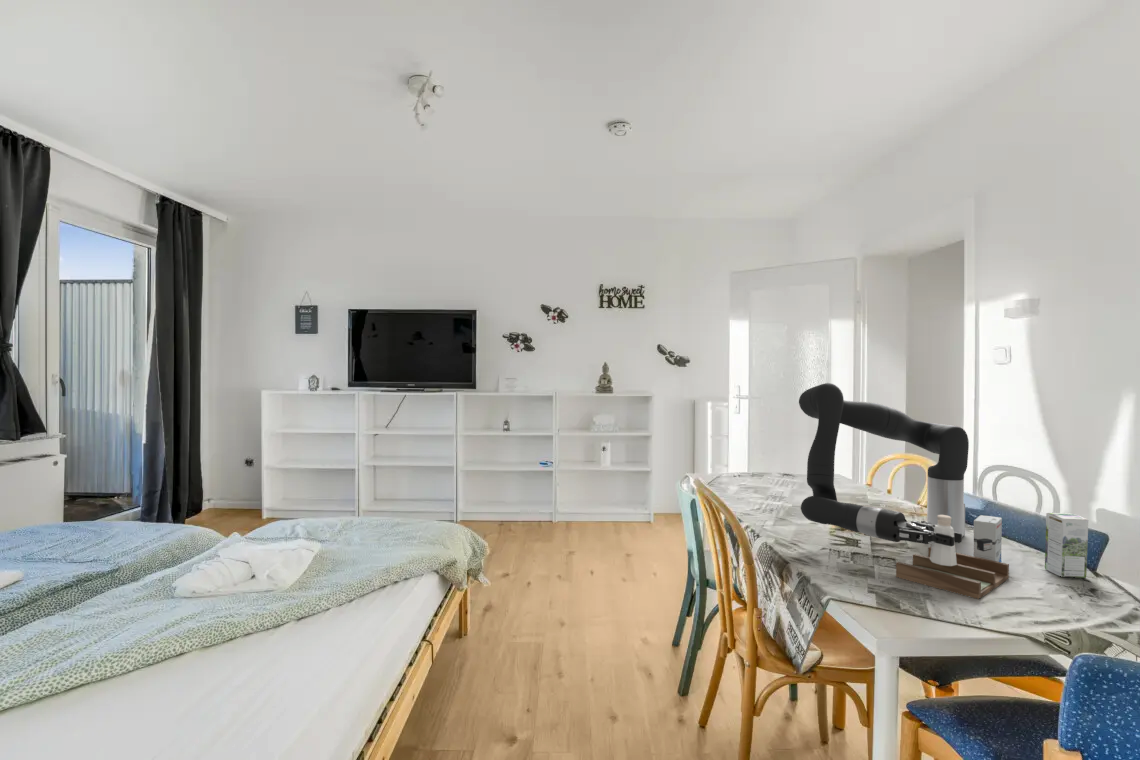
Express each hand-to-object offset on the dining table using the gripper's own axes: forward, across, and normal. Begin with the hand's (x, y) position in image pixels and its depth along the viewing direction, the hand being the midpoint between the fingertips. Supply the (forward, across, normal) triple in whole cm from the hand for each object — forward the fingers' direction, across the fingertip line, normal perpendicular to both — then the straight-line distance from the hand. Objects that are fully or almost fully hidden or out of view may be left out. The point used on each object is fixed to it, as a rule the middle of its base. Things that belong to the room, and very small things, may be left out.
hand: (957, 539), depth 133 cm
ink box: (-1, +23, +11) cm, 25 cm away
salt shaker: (-3, 0, +6) cm, 7 cm away
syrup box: (+13, +30, +10) cm, 34 cm away
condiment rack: (-2, +5, +11) cm, 12 cm away
